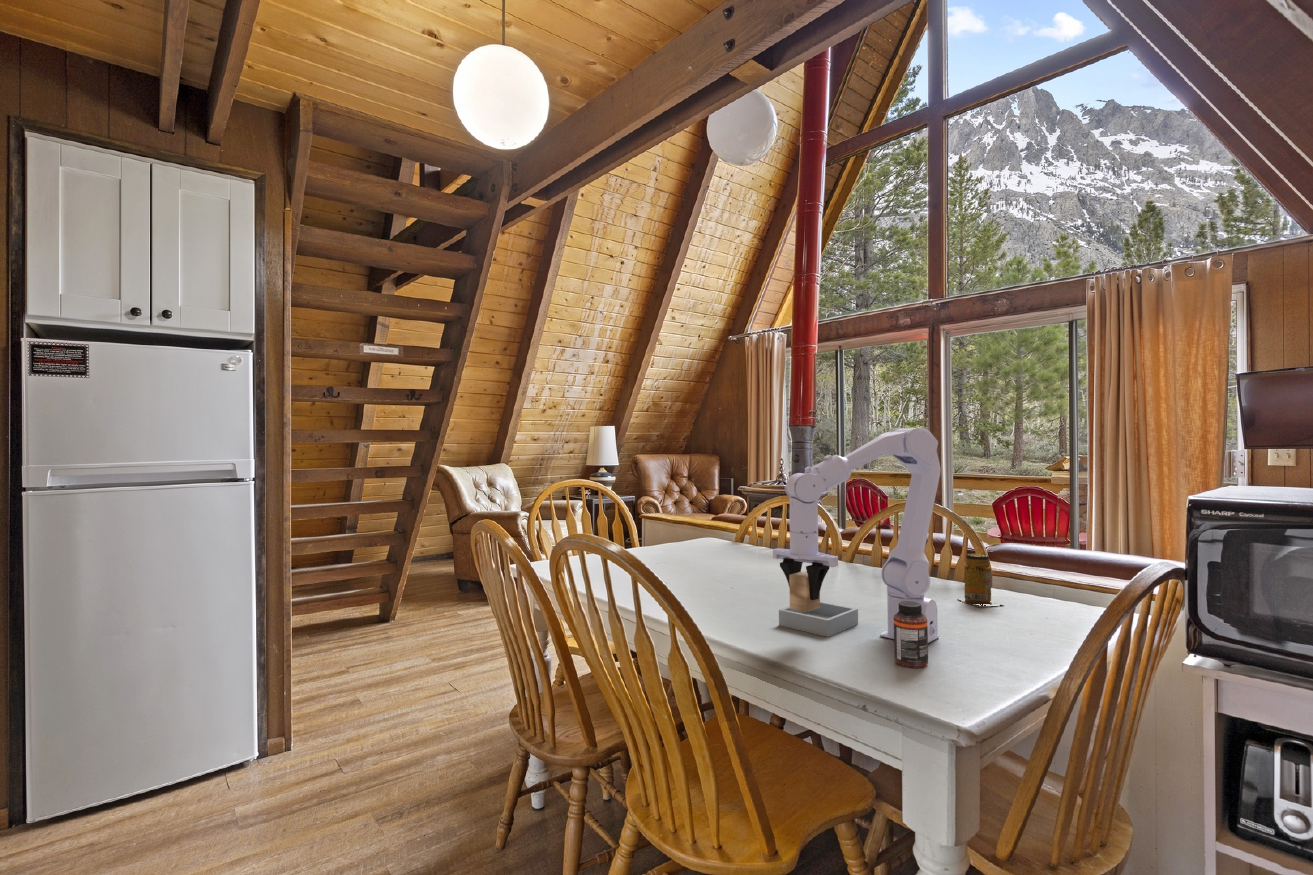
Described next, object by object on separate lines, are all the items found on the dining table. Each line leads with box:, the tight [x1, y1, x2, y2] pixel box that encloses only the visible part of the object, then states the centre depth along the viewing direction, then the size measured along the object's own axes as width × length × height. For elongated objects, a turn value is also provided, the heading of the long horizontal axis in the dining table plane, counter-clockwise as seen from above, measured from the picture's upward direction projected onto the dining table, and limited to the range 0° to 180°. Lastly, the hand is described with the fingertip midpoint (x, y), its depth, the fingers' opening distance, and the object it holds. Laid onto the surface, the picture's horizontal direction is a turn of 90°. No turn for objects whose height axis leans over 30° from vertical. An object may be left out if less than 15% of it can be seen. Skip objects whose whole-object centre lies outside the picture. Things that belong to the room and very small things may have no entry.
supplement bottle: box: [893, 601, 929, 669], centre depth 123 cm, size 6×6×11 cm
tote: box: [778, 601, 859, 638], centre depth 149 cm, size 13×13×4 cm
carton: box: [789, 570, 821, 612], centre depth 136 cm, size 4×5×7 cm
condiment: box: [961, 552, 1000, 608], centre depth 166 cm, size 7×8×12 cm
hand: (804, 597), depth 136 cm, fingers closed on carton, 4 cm apart
